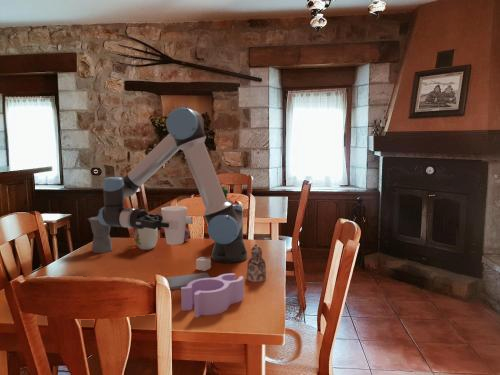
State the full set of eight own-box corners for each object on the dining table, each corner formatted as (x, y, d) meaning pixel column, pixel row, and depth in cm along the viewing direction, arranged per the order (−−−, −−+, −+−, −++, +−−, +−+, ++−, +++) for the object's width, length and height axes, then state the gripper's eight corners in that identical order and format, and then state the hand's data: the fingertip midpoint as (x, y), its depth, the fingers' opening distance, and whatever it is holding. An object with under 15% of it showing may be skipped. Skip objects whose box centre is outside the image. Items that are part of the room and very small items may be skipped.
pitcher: (150, 241, 200) (150, 214, 199) (164, 249, 185) (163, 220, 184) (128, 244, 194) (127, 216, 193) (140, 253, 179) (139, 223, 178)
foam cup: (181, 246, 145) (181, 210, 143) (157, 245, 147) (156, 209, 145) (191, 240, 154) (190, 206, 152) (168, 238, 156) (167, 205, 154)
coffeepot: (83, 252, 181) (81, 213, 179) (95, 247, 191) (93, 209, 188) (114, 254, 178) (112, 214, 176) (125, 248, 188) (123, 210, 185)
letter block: (202, 266, 161) (202, 256, 160) (210, 268, 159) (210, 258, 158) (196, 269, 157) (196, 259, 157) (204, 271, 155) (204, 260, 155)
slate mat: (206, 275, 150) (206, 272, 150) (213, 284, 141) (213, 281, 141) (163, 280, 145) (163, 278, 144) (167, 290, 135) (167, 287, 135)
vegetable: (177, 242, 198) (177, 222, 197) (177, 239, 204) (177, 220, 203) (190, 242, 199) (189, 222, 198) (189, 239, 205) (189, 219, 204)
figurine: (245, 281, 143) (245, 248, 142) (247, 274, 150) (247, 243, 149) (265, 281, 143) (266, 248, 142) (266, 275, 150) (266, 243, 149)
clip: (226, 290, 135) (226, 270, 135) (252, 301, 127) (252, 279, 126) (176, 307, 122) (175, 285, 121) (201, 321, 113) (200, 297, 112)
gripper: (152, 222, 167) (199, 226, 158) (115, 234, 146) (168, 239, 138) (151, 204, 166) (199, 208, 158) (114, 213, 146) (167, 218, 137)
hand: (185, 222), depth 148 cm, fingers closed on foam cup, 9 cm apart
